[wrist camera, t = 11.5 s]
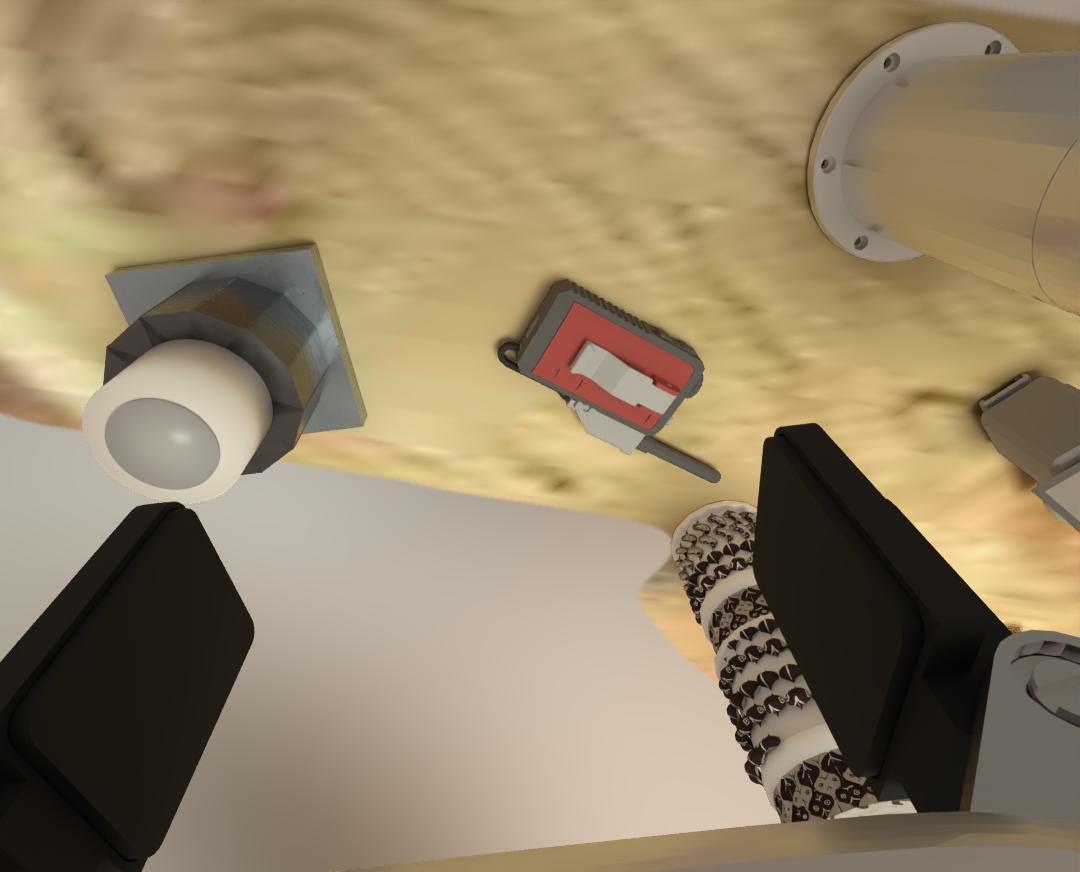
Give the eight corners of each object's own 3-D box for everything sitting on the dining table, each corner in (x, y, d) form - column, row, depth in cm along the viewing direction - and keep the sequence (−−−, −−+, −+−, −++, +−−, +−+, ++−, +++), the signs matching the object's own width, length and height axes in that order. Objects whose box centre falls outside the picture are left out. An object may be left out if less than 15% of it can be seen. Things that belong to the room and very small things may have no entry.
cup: (264, 311, 33) (207, 369, 27) (304, 422, 37) (263, 497, 30) (136, 327, 33) (46, 389, 27) (189, 436, 37) (122, 515, 30)
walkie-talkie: (481, 372, 41) (705, 479, 48) (480, 401, 38) (723, 513, 44) (544, 260, 38) (777, 392, 44) (550, 280, 34) (804, 421, 40)
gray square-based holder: (316, 243, 36) (277, 279, 29) (367, 415, 42) (344, 476, 36) (118, 268, 36) (36, 309, 29) (198, 437, 42) (145, 501, 36)
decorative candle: (711, 595, 54) (854, 935, 32) (643, 545, 50) (755, 892, 29) (794, 535, 51) (1014, 867, 29) (729, 477, 47) (925, 809, 26)
